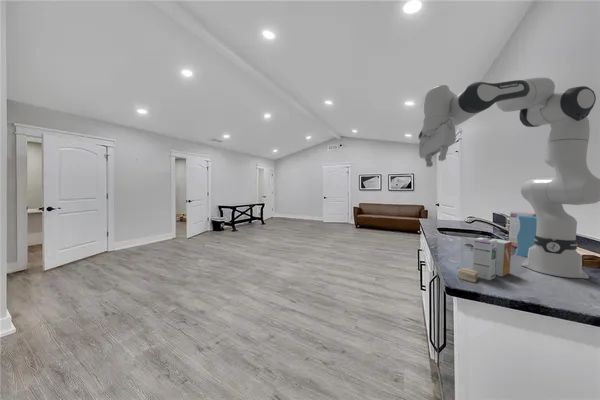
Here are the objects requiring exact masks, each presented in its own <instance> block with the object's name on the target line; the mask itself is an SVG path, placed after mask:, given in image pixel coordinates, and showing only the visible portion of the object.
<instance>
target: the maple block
mask: <svg viewBox="0 0 600 400" xmlns="http://www.w3.org/2000/svg"><path fill="white" fill-rule="evenodd" d="M478 273H479V272H478V271H473V269H468V268H463V267H462V268H461V269H459V270H458V276H457V278H458V279H461V280H463V281H464V280H465V281H469V282H472V283H476V282H477V280H479V278H478Z"/></svg>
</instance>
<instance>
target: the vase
mask: <svg viewBox="0 0 600 400" xmlns="http://www.w3.org/2000/svg"><path fill="white" fill-rule="evenodd" d="M519 221H520V230H519V232H518V234H517V242H518V248H517V247H516V252H515V255H516V256H519V257H524V258H528V251H529V248H530V247H532V246H534V245H535V244H534V238H535V235H536V227H537V219H536V217H531V216H519Z"/></svg>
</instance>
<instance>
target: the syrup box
mask: <svg viewBox="0 0 600 400" xmlns="http://www.w3.org/2000/svg"><path fill="white" fill-rule="evenodd" d="M494 239H495V238H489V237H488V238H487V237H478V238H474V239H473V251H472V252H473V253H472V270H473V271H478V272H479V273H478V279H482V280H486V281H492V280H493V279H495V278H496V275H495V274H496V249H497V240H494Z"/></svg>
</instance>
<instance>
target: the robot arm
mask: <svg viewBox="0 0 600 400" xmlns="http://www.w3.org/2000/svg"><path fill="white" fill-rule="evenodd" d="M555 88H556V85H555V82H554V81H553V80H552V79H551V78H549V77H531V78H524V79H517V80H508V81H502V82H496V83H492V82H485V81H475V82H472V83H471V84H469V85H468V86H467V87H466V88H464V90H462V91H461V93H459V94H458V95H457V94H456V93H454V92H452V91H451V89H450V86H449V85H446V84H440V85H437V86H434V87H432V88H431V89H430V90H428V92H427V93H426V94H425V98H424V103H423V114H424V118H423V119H424V120H423V126H422V129H421V131H420V132H419V134H418V138H417V139H418V140H419V142H418V143H419V145H418V148H419V149H418V156H419V157H420V159H424V160H425V163H426V164H425V166H426V168H431V167H432V166H433V164H434V163H433V161H432V159H433V156H435V155H437V154H438V153H439V155H438V161H440V162H443V161H445V160H447V159H446V158H447V153H448V151H449V147H450V146H453V145H454V144H455V142H456V139H457V137H456V136H457V135H456V126H457V125H460V124H462V123H464V122H466V121H467V120H469V119H471V118H472V117H474V116H476V115H477V114H479V113H481V112H484V111H485V110H488V109H489V108H490V107H492V106H493V105H494V104H496V106H497V107H498V109H499V110H500V111H503V112H508V113H509V112H517V111H519V122H521V123H522V125H523V126H525V127H526V128H535V127H541V126H546V125H549V126H550V128H551V129H550V132H549V135H548V139H547V142H546V143H547V144H546V148H545V149H546V150H545V154H544V162H545V164H547V165H548V166H549V167H552V168H554V170H555V173H556V174H555V176H552V177H551V176H548V177H545V176H544V177H543V176H542V177H537V178H532V179H528V180H526V181H525V182H524V183H523V184H522V185H521V189H520V194H521V195H522V197H523V199H525V200H526V201H527V202H528V203H529V204H530V205H531V206H532V208H533V211H534V213H535V214H536V219H537V227H536V235H535V238H534V244H535V245H534V246H532V247H530V248H529V251H528V257H527V261H525V262H522V263H521V266H522V267H525V268H528V269H529V270H532V271H535V272H537V273H541V274H545V275H551V276H555V277H561V278H572V279H573V278H575V279H576V278H577V279H589V277H590V276H589V275H588V274H587V273H586V272H585V271H584V270H582V268H583V265H582V263H583V262H582V261H583V260H582V259H583V255H581V254H580V253H579V252H578V251H577V249H578V245H579V244H578V240H577V228H578V221H577V219H576V218H575V217H574V216H572V215H570V214H568V212H567V211H566V210H565V209H564V206H563V205H573V206H580V205H589V204H590V205H592V204H596V203H598V202H600V178H598V177H597V176H596V175H594V174H593V173H592V172H591V170H590V169H589V166H588V163H587V154H588V147H589V141H590V130H591V129H590V120H589V118H588V115H589V114H590V113H591V110H593V108H594V106H595V104H596V100H597V96H596V93H595V92H594V90H592V88H590V87H589V86H586V85H585V86H584V85H583V86H582V85H580V86H574V87H570V88H568V89H567V90H562V91H558V92H555Z"/></svg>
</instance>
